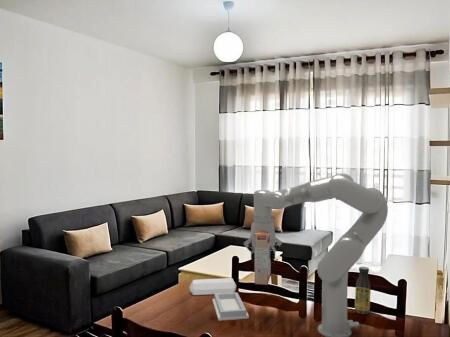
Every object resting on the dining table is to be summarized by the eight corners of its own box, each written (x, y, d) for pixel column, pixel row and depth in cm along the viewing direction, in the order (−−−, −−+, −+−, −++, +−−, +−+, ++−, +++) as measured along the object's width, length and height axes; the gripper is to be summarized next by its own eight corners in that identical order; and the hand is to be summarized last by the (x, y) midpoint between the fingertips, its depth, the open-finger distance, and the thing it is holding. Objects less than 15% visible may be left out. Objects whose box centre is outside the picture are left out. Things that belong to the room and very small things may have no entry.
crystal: (189, 290, 195) (238, 287, 197) (189, 278, 201) (236, 276, 203) (189, 300, 199) (237, 297, 201) (189, 288, 205) (235, 286, 207)
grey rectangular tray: (239, 299, 192) (239, 292, 191) (248, 318, 170) (248, 310, 170) (212, 301, 190) (212, 293, 190) (218, 320, 168) (218, 312, 168)
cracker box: (268, 285, 161) (268, 234, 160) (254, 284, 162) (253, 233, 161) (271, 275, 175) (271, 227, 174) (258, 274, 176) (257, 227, 175)
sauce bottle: (353, 313, 174) (353, 268, 173) (356, 308, 179) (356, 264, 179) (369, 316, 171) (369, 270, 170) (371, 311, 176) (371, 266, 176)
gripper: (280, 217, 172) (280, 258, 173) (240, 218, 170) (241, 260, 171) (285, 220, 165) (285, 262, 166) (244, 222, 162) (244, 265, 163)
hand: (263, 261), depth 168 cm, fingers closed on cracker box, 7 cm apart
